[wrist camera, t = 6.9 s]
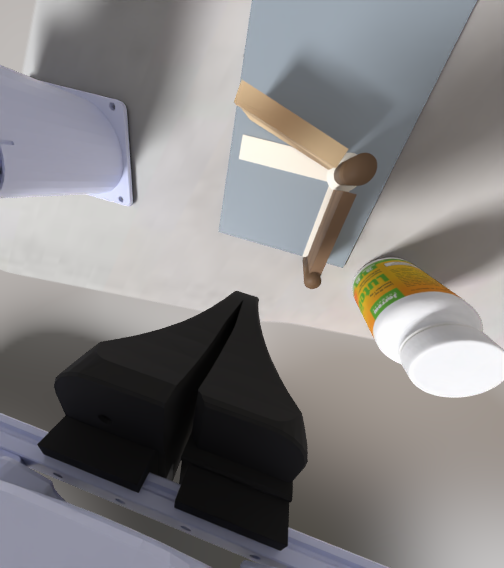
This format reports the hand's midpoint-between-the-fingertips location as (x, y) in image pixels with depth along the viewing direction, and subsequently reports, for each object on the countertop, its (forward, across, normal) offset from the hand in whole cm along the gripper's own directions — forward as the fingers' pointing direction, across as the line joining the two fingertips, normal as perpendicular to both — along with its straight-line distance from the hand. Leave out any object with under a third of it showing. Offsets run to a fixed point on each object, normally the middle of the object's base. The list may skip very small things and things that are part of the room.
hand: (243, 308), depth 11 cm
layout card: (+9, -1, -9) cm, 13 cm away
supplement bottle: (+10, -11, 0) cm, 15 cm away
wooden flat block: (+9, 0, -9) cm, 13 cm away
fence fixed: (+9, -4, -4) cm, 11 cm away
